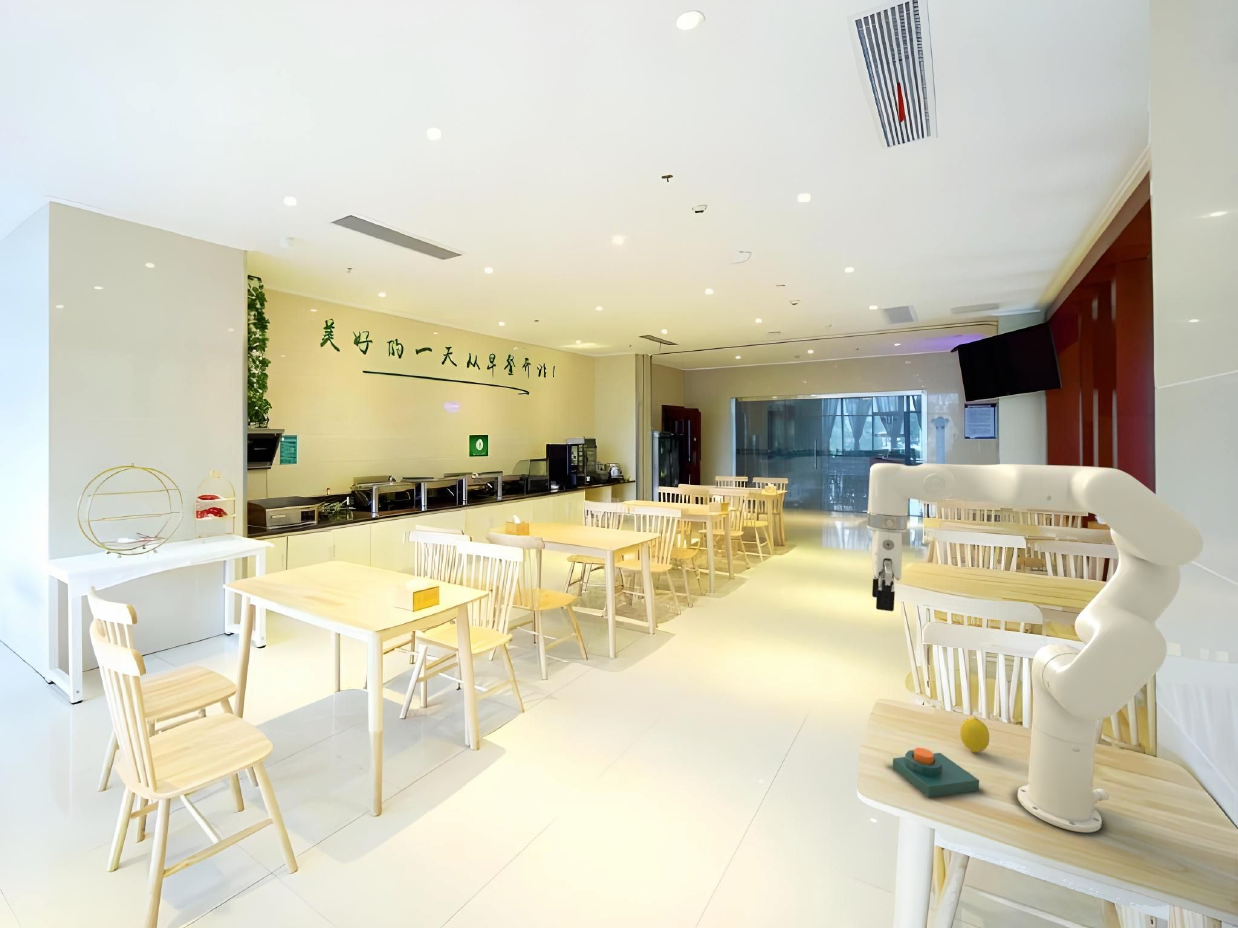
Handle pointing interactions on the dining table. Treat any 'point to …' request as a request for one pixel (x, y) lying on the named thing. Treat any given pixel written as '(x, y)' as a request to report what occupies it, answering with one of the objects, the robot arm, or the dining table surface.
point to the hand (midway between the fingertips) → (882, 603)
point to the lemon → (974, 735)
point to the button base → (935, 775)
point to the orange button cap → (923, 756)
